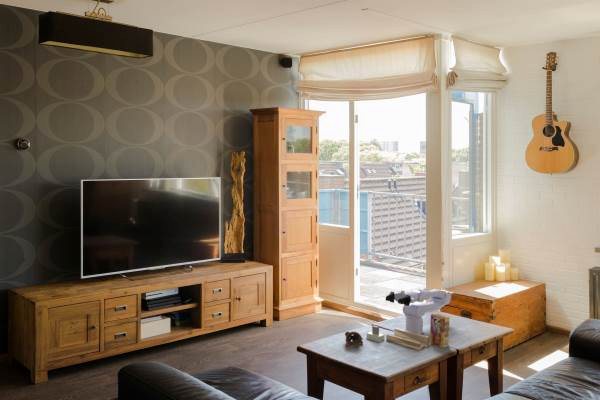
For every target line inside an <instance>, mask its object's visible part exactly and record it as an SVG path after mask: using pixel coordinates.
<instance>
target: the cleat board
mask: <svg viewBox="0 0 600 400" xmlns="http://www.w3.org/2000/svg"><path fill="white" fill-rule="evenodd" d="M393 332H394V333H393V334H389V333H387V334H385V336H386V337H385V339H386V340H385V341H387V340H388V341H387V342H390V341H391V343H394V344H398V345H402V346H404V347H409V348H412V349H415V350H418V351H419V350H422V349H424V348H426V347H427V348H428V347H429V346H430V336H428V335H424V334H417V333H413V332H410V331H406V329H402V328H397V327H396V328H394V329H393Z"/></svg>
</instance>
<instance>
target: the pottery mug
mask: <svg viewBox="0 0 600 400" xmlns="http://www.w3.org/2000/svg"><path fill="white" fill-rule="evenodd" d="M344 335H345V336H344V337H345V348H347V349H348V348H349V347H357V346H358V345H360V344H361V345H364V341H363V340H364V338H363V336H362V335H361V334H360V333H359V332H357V331H345V333H344Z"/></svg>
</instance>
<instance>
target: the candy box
mask: <svg viewBox="0 0 600 400" xmlns="http://www.w3.org/2000/svg"><path fill="white" fill-rule="evenodd" d="M429 326H430V331H429V332H430V333H429V335H430V336H429V345H434V346H437V347H440V348H444V349H445V348H447V347H449V343H450V342H449V341H450V340H449V339H450V316H449V315H444V314H440V313H436V312H434V313H431V314H430V325H429Z"/></svg>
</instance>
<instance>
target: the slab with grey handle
mask: <svg viewBox="0 0 600 400" xmlns="http://www.w3.org/2000/svg"><path fill="white" fill-rule="evenodd" d="M371 327H372V329H371V331H369V332H367V333H366V339H367V338H368V339H367V340H370V339H371V340H370V341H374V340H375V342H377V341H378V342H379V343H380V342H383V341H385V334H383V333H380V326H377V325H372V326H371ZM382 340H383V341H382Z"/></svg>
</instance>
